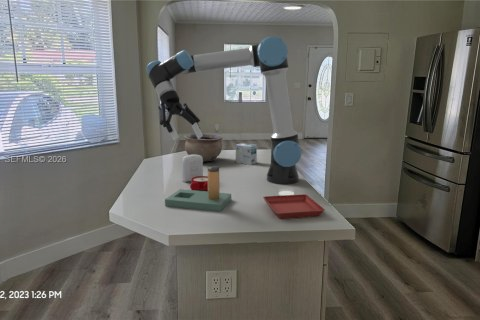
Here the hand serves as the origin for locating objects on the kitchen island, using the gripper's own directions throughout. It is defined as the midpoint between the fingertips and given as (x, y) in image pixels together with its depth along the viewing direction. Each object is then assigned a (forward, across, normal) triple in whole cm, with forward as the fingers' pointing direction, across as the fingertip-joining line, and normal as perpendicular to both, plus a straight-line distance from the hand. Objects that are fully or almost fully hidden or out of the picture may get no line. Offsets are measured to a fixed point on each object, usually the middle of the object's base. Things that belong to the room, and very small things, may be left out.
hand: (188, 138), depth 149 cm
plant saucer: (+45, -13, +18) cm, 50 cm away
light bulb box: (+4, -65, -27) cm, 71 cm away
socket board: (+25, +3, -7) cm, 26 cm away
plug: (+26, +1, -1) cm, 26 cm away
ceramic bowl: (-10, -54, -45) cm, 71 cm away
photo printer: (+8, -19, -26) cm, 34 cm away
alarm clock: (+16, -12, -17) cm, 27 cm away
